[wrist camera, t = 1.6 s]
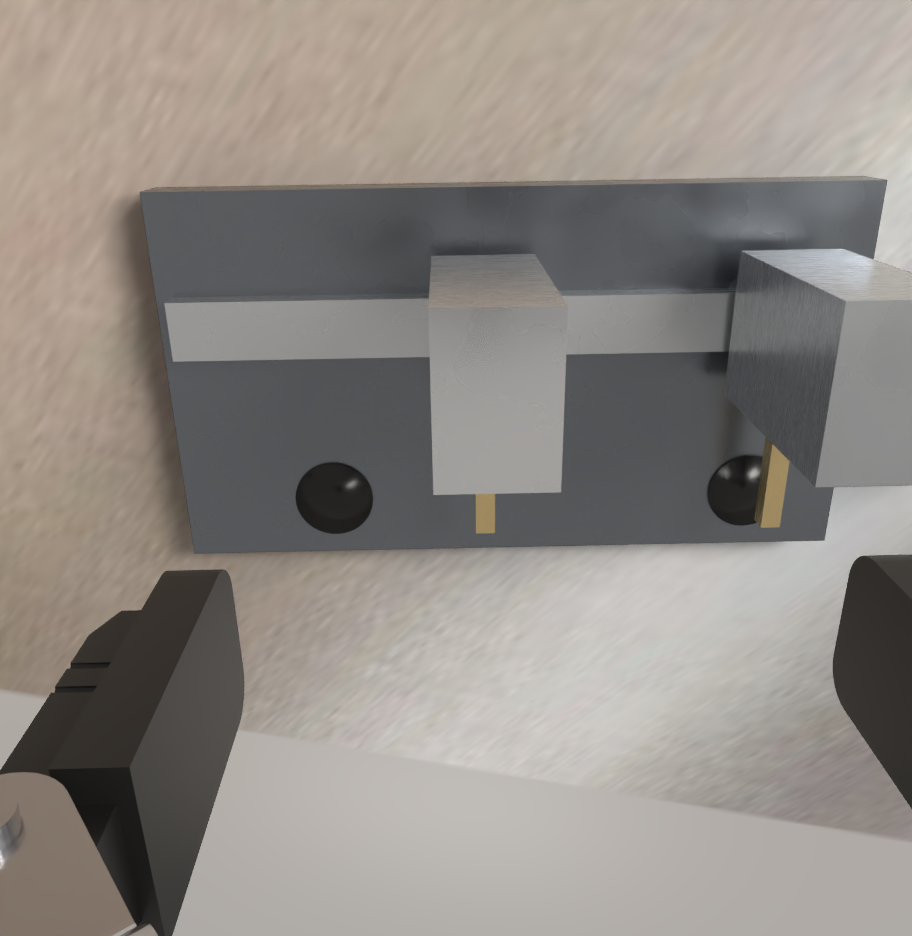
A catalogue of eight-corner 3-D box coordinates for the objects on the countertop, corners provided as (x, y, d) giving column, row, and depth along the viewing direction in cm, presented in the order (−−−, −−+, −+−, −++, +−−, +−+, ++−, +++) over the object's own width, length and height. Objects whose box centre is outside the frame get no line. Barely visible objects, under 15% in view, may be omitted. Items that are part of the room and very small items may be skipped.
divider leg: (534, 254, 25) (567, 305, 18) (528, 513, 28) (555, 635, 22) (431, 255, 25) (428, 308, 18) (437, 515, 28) (437, 638, 22)
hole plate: (863, 176, 27) (900, 182, 24) (807, 521, 31) (834, 551, 29) (155, 187, 26) (130, 195, 24) (205, 533, 31) (188, 564, 29)
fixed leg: (842, 249, 25) (984, 298, 18) (801, 508, 28) (908, 628, 22) (740, 250, 25) (846, 301, 18) (710, 510, 28) (791, 630, 22)
